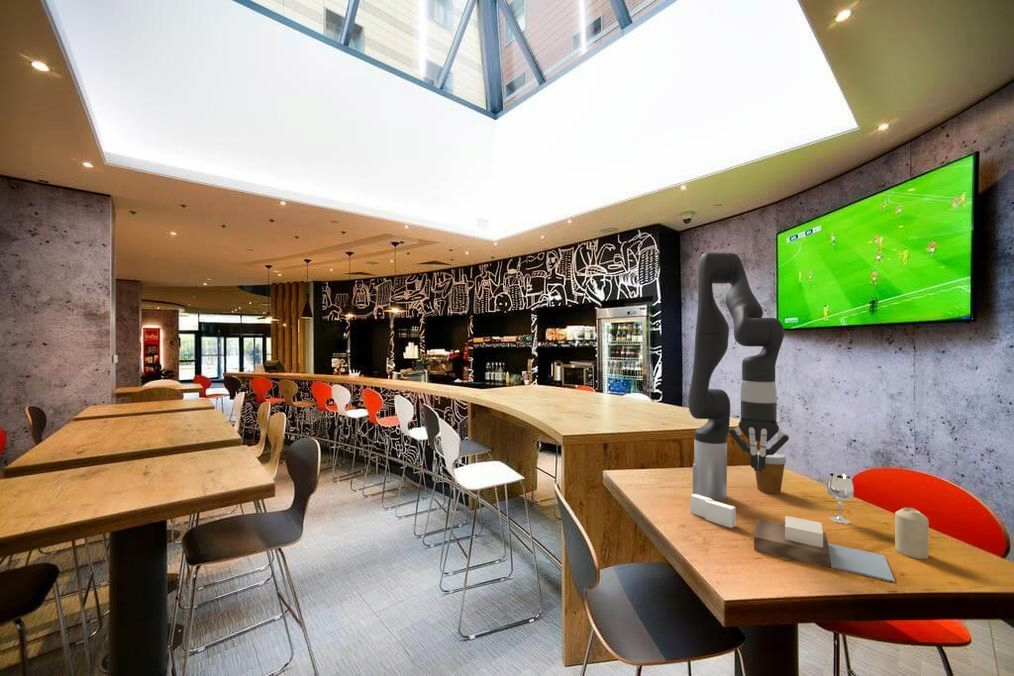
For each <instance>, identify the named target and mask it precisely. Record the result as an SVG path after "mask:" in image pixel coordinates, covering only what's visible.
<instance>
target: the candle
mask: <svg viewBox="0 0 1014 676" xmlns="http://www.w3.org/2000/svg"><path fill="white" fill-rule="evenodd" d="M894 514H895V515H894V516H895V517H894V518H895V519H894V524H895V528H894V530H895V531H894V539H895V541H894V543H895V544H894V545H895V546H894V547H895V551H896V552H897V553H899V554H901V555H903V556H906V557H909V558H913V559H917V560H918V559H919V560H926V559H927V560H928V558H929V554H930V553H929V547H930V546H929V536H930V535H929V528H930V527H929V524H930V523H929V518H928V517H927V516H925V514H924V513H921V512H920V511H919V510H917V509H916V508H913V507H903V508H901V509H898V510H897V511H895V513H894Z"/></svg>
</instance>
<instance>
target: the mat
mask: <svg viewBox="0 0 1014 676" xmlns="http://www.w3.org/2000/svg"><path fill="white" fill-rule="evenodd" d="M828 548H829V554H830V567H831V568H833V569H837V570H840V571H845V572H849V573H853V574H856V575H862V576H865V577H869V576H870V577H869V578H873V577H875V578H874V579H877V578H878V580H881V579H883V580H882V581H885V580H887V581H886V582H890V581H893V582H892V583H894V582H895V583H896V580H895V578H894V576H893V574H892V571H891V568H890V566H889V563H888V561H887V559H886V557H885V556H886V555H883V554H879V553H875V552H870V551H865V550H862V549H861V550H860V549H856V548H851V547H847V546H843V545H838V544H834V543H828Z"/></svg>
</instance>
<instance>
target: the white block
mask: <svg viewBox="0 0 1014 676" xmlns="http://www.w3.org/2000/svg"><path fill="white" fill-rule="evenodd" d="M784 517H785V521H784V522H785V523H784V524H785V539H786V540H790V541H795V542H799V543H804V544H808V545H813V546H817V547H822V548H823V532H824V531H823V524H822V522H819V521H815V520H809V519H805V518H799V517H795V516H788V515H785V516H784Z"/></svg>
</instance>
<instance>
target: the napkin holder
mask: <svg viewBox="0 0 1014 676" xmlns="http://www.w3.org/2000/svg"><path fill="white" fill-rule="evenodd" d="M690 514H691V515H692V514H693V515H696V516H699V517H703V518H704V520H706V521H709V522H712V523H715V524H718V525H721V526H725V527H727V528H730V529H733V528H734V527H736V506H735V505H731V504H730V505H729V504H726V503H723V502H720V501H717V500H713V499H711V498H708V497H704V496H701V495H697V494H693V493H692V494H691V495H690Z"/></svg>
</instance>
